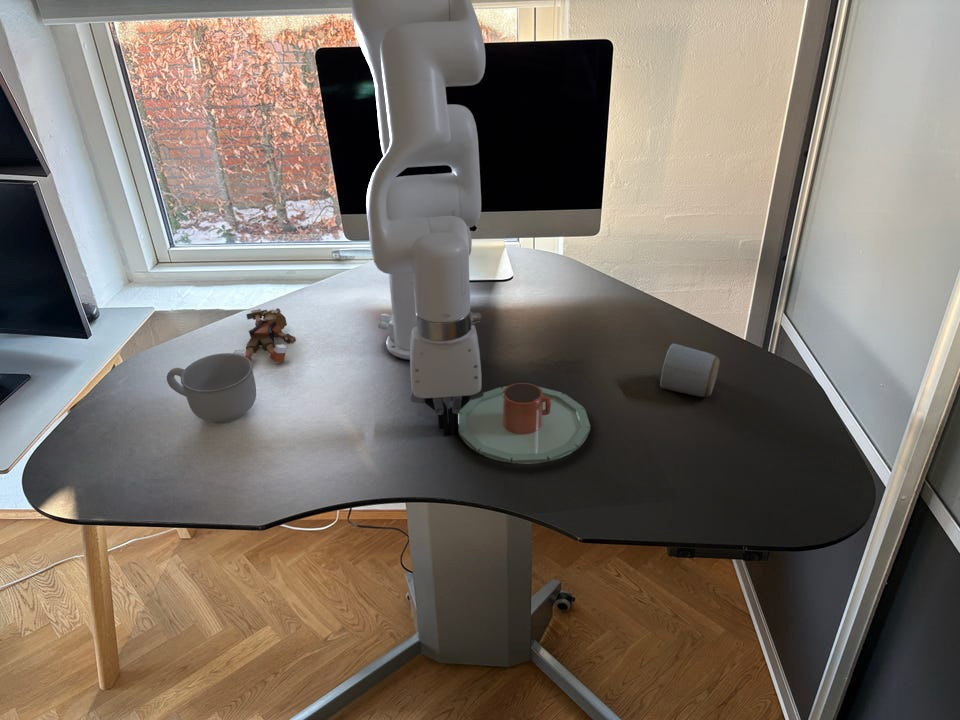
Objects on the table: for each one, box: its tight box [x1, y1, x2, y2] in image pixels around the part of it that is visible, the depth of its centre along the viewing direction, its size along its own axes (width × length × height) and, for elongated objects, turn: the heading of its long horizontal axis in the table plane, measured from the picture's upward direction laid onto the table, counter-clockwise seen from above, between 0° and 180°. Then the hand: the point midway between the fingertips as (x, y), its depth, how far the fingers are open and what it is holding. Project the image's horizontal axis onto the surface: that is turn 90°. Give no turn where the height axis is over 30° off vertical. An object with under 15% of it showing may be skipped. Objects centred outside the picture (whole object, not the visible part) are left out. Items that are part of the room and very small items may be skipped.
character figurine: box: [233, 307, 297, 364], centre depth 136 cm, size 12×5×18 cm
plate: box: [457, 385, 592, 465], centre depth 110 cm, size 20×20×2 cm
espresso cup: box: [503, 382, 551, 434], centre depth 109 cm, size 7×6×6 cm
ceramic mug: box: [659, 343, 720, 398], centre depth 119 cm, size 11×8×8 cm
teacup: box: [166, 352, 257, 423], centre depth 115 cm, size 14×11×8 cm
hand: (448, 431), depth 109 cm, fingers closed
